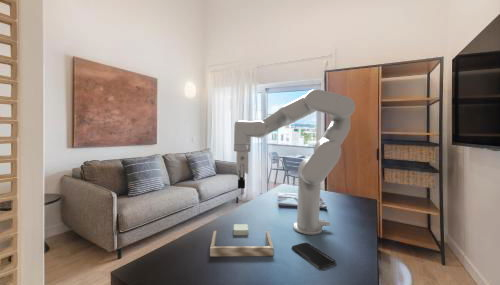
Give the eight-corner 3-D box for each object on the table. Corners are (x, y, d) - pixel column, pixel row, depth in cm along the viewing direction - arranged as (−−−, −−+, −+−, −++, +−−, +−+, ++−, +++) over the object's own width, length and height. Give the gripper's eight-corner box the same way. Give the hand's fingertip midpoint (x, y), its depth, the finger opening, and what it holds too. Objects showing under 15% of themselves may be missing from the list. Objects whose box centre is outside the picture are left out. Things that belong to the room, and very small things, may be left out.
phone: (306, 242, 91) (337, 261, 78) (306, 244, 91) (337, 265, 78) (290, 246, 87) (319, 267, 74) (290, 249, 87) (319, 271, 74)
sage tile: (247, 229, 103) (247, 224, 103) (248, 235, 97) (248, 230, 97) (233, 229, 103) (234, 224, 103) (233, 236, 97) (233, 230, 97)
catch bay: (268, 237, 95) (268, 230, 95) (273, 255, 82) (273, 247, 82) (213, 237, 94) (213, 230, 94) (210, 256, 81) (210, 247, 80)
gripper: (251, 149, 99) (250, 192, 100) (249, 147, 114) (248, 184, 115) (233, 149, 98) (232, 192, 99) (234, 146, 113) (233, 184, 114)
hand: (241, 187), depth 107 cm, fingers closed
